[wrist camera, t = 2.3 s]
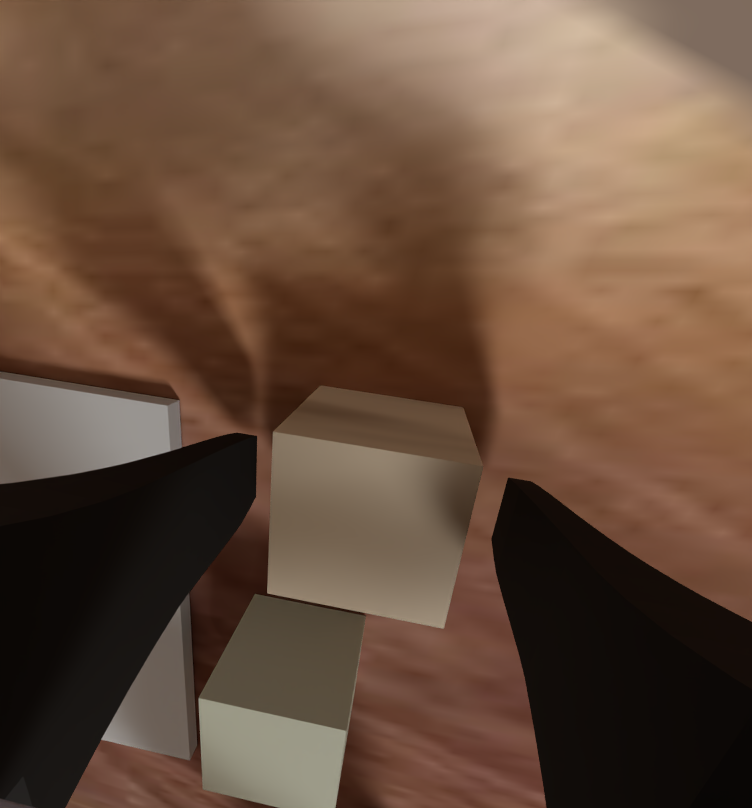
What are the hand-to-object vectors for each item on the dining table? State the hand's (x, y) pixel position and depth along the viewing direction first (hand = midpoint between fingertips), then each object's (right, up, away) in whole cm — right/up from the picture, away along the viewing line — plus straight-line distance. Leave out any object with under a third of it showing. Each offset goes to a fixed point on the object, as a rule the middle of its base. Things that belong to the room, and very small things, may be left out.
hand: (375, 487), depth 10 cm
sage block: (-3, -8, +5) cm, 10 cm away
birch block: (0, +1, +2) cm, 2 cm away
